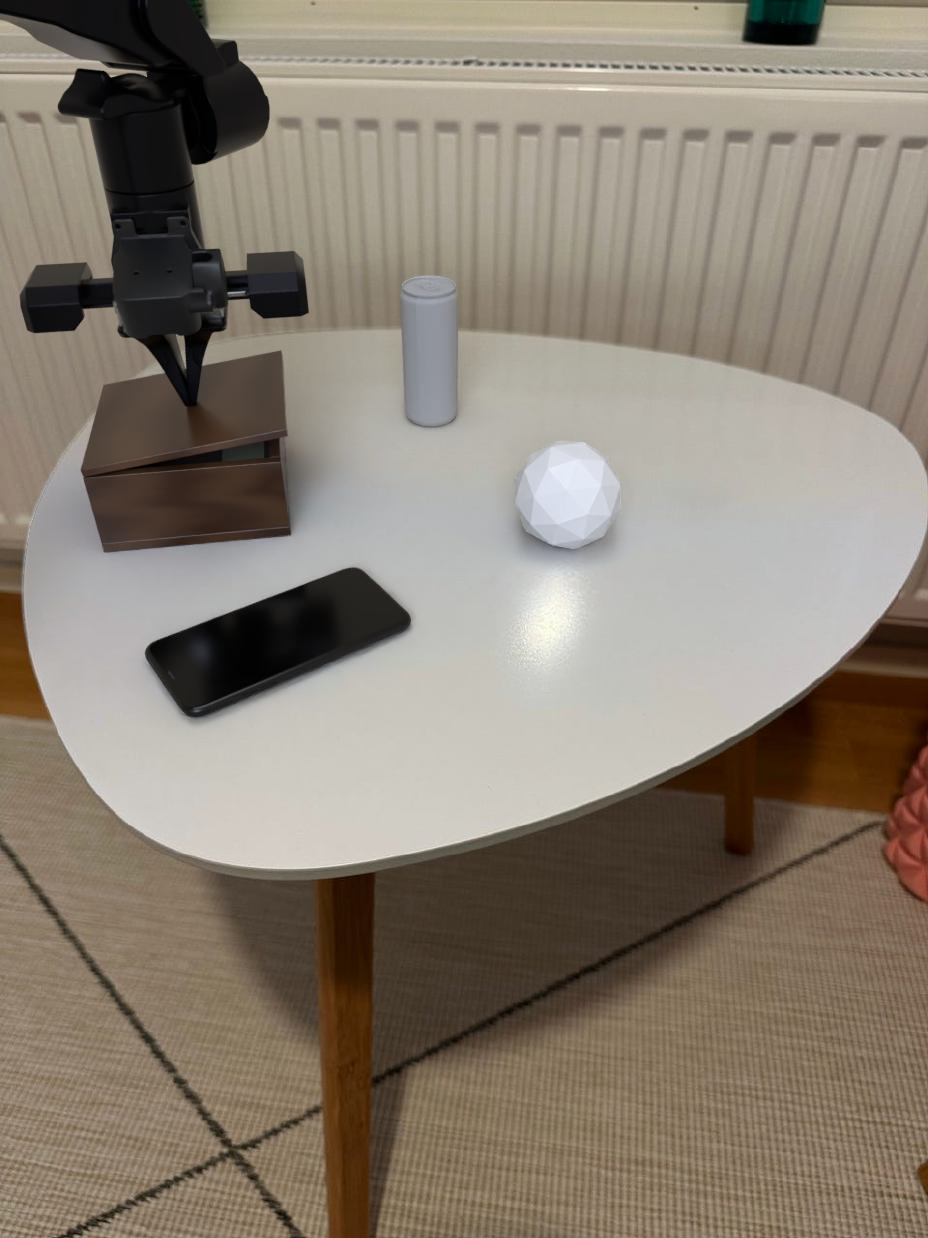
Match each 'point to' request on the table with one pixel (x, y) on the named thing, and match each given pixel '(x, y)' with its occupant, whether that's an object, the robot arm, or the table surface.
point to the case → (192, 502)
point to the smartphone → (274, 640)
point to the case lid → (188, 415)
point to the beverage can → (430, 349)
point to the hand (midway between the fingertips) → (191, 403)
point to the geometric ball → (567, 494)
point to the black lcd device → (224, 455)
